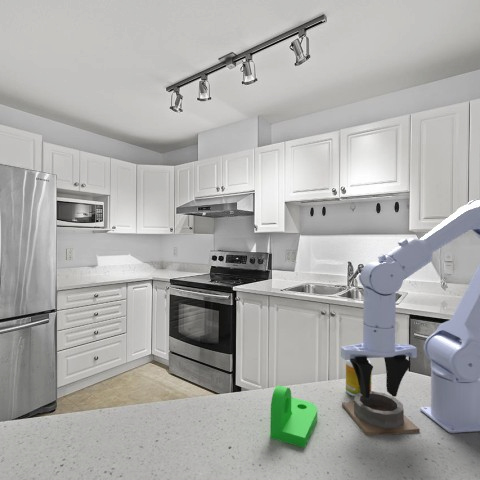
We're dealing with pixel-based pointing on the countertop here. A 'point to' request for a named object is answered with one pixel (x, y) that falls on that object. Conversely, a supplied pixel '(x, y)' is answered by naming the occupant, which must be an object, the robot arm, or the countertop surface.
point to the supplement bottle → (352, 380)
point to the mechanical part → (291, 418)
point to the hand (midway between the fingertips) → (378, 394)
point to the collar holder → (379, 414)
